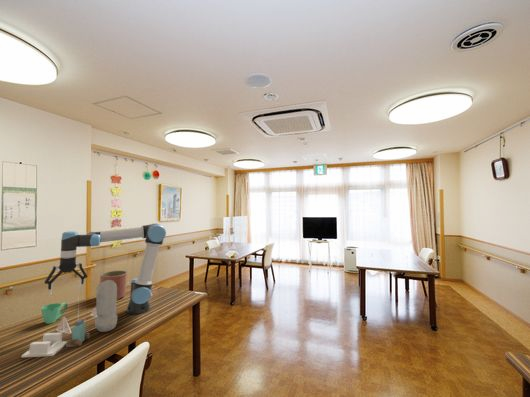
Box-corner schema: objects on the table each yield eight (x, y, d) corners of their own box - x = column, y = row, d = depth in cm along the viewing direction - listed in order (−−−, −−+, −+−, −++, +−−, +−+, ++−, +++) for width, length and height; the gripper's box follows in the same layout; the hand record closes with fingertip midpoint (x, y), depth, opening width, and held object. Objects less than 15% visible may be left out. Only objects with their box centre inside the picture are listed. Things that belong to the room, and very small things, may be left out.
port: (68, 342, 134) (69, 331, 134) (52, 355, 122) (53, 343, 122) (39, 344, 132) (40, 332, 132) (21, 357, 120) (22, 345, 120)
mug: (48, 326, 150) (49, 310, 151) (36, 324, 152) (37, 308, 153) (71, 316, 165) (72, 301, 165) (60, 314, 167) (61, 300, 167)
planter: (106, 293, 208) (108, 270, 209) (129, 293, 210) (131, 270, 211) (93, 302, 190) (95, 276, 190) (119, 302, 192) (120, 276, 192)
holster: (89, 337, 139) (89, 332, 140) (80, 346, 131) (80, 340, 131) (76, 338, 138) (76, 333, 138) (66, 347, 130) (66, 341, 130)
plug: (84, 339, 137) (85, 318, 138) (79, 344, 132) (80, 322, 133) (77, 340, 137) (78, 318, 137) (71, 345, 132) (73, 322, 132)
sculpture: (123, 326, 154) (126, 278, 155) (109, 335, 142) (112, 284, 144) (101, 324, 156) (104, 277, 157) (86, 333, 144) (89, 282, 145)
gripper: (91, 253, 160) (89, 286, 159) (40, 258, 142) (37, 295, 141) (94, 255, 155) (92, 289, 154) (41, 260, 137) (38, 298, 136)
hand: (66, 292), depth 147 cm, fingers open, 13 cm apart
